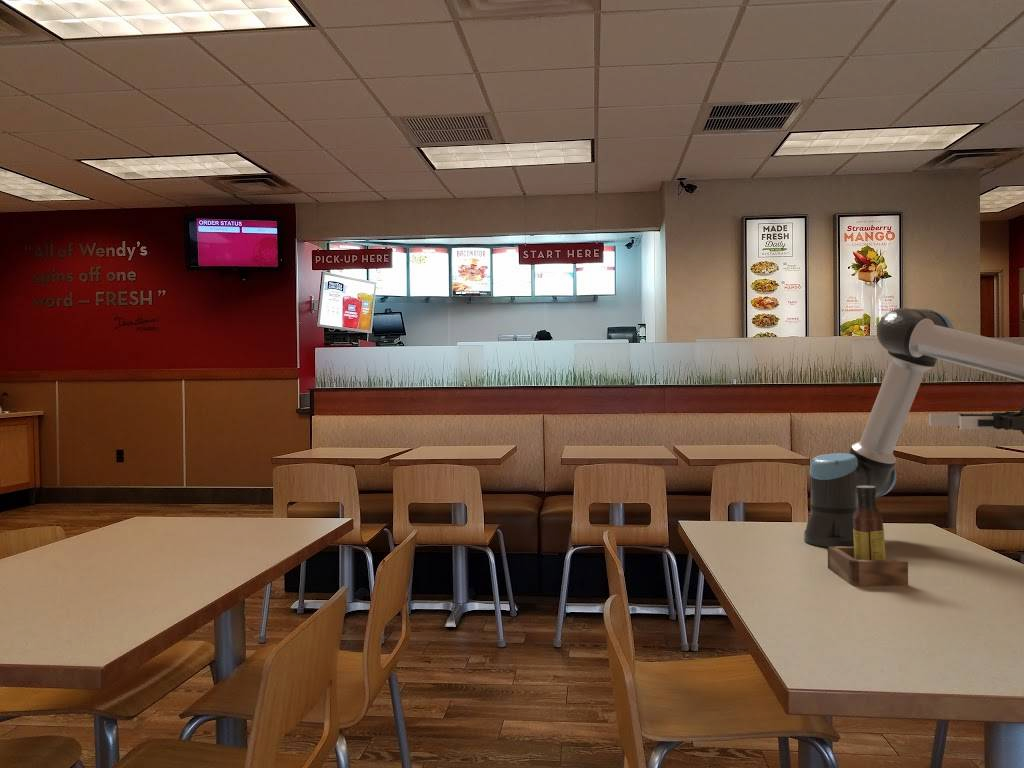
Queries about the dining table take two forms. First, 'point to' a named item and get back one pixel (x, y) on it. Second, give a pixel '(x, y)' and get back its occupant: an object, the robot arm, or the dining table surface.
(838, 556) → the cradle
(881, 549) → the sauce bottle
